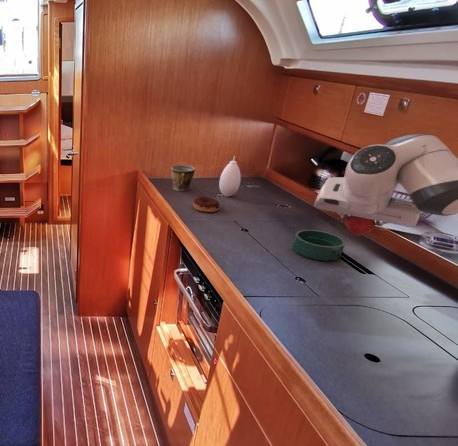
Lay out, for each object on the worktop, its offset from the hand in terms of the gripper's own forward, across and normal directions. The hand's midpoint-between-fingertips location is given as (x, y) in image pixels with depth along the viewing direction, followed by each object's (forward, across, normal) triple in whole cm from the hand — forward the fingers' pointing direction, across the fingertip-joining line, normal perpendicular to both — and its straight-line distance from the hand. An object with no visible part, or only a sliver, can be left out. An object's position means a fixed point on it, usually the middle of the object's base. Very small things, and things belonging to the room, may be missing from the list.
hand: (361, 220), depth 105 cm
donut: (+28, +49, -5) cm, 57 cm away
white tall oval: (+43, +48, -19) cm, 67 cm away
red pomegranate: (+3, 0, +4) cm, 5 cm away
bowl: (+18, +9, +5) cm, 21 cm away
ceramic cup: (+39, +67, -16) cm, 79 cm away
